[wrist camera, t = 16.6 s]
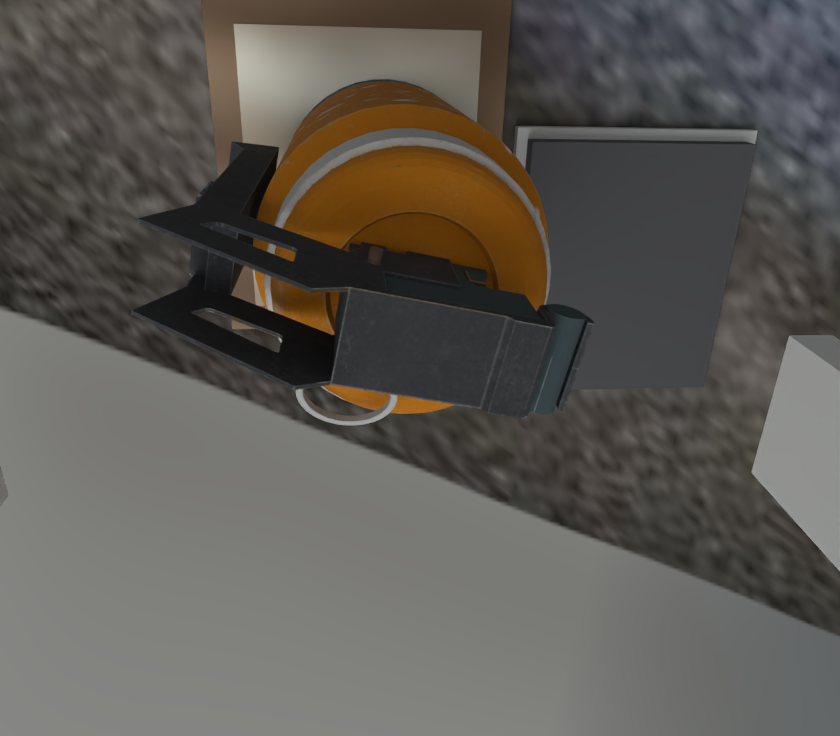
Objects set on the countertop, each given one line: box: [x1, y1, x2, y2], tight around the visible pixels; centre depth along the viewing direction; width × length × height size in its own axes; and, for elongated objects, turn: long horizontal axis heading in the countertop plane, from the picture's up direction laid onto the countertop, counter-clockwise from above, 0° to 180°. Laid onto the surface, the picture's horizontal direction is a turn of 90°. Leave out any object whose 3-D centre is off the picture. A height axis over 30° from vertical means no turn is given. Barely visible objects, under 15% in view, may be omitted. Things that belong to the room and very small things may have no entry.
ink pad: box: [513, 126, 758, 390], centre depth 36 cm, size 14×12×2 cm
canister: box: [131, 79, 594, 425], centre depth 24 cm, size 9×11×20 cm
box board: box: [201, 0, 512, 329], centre depth 33 cm, size 15×13×1 cm
